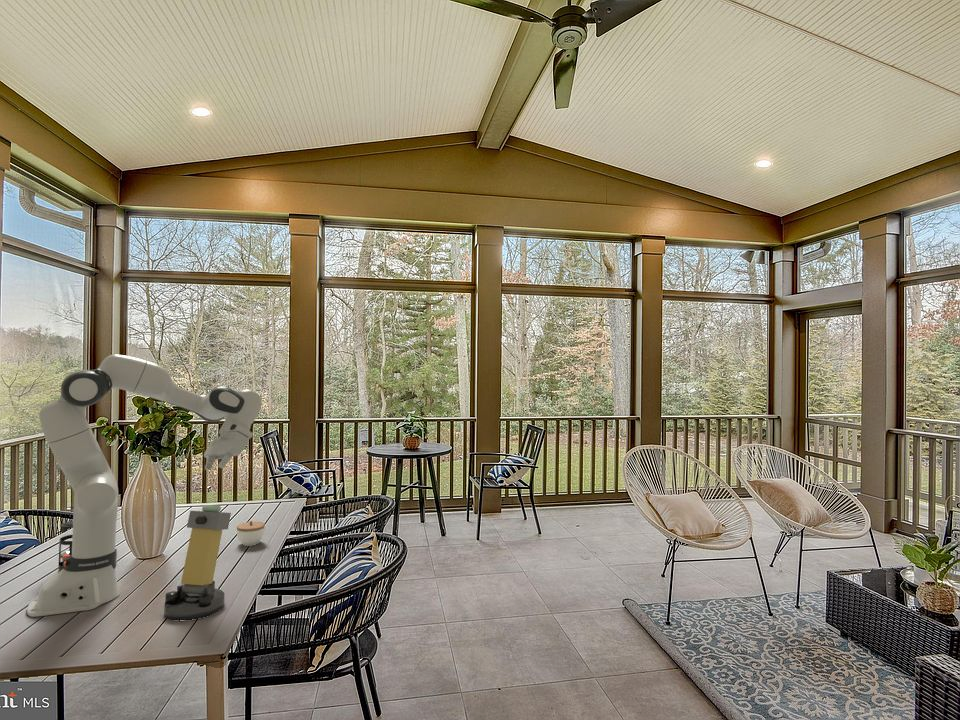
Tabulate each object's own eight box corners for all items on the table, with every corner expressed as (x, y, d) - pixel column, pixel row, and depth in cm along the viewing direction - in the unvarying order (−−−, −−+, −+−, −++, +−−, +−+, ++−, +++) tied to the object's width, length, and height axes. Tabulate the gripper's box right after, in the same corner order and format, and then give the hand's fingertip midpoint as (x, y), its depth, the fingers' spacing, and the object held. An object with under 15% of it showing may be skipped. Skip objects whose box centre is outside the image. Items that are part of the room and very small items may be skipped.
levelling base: (201, 623, 150) (202, 599, 150) (151, 618, 152) (152, 594, 152) (235, 599, 166) (235, 577, 166) (189, 595, 168) (190, 573, 168)
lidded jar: (230, 545, 216) (231, 522, 216) (252, 538, 226) (253, 516, 226) (248, 549, 211) (248, 526, 211) (269, 542, 221) (270, 520, 221)
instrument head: (198, 598, 153) (216, 506, 160) (168, 595, 155) (187, 503, 162) (215, 594, 161) (232, 506, 168) (186, 591, 162) (203, 504, 170)
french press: (87, 574, 182) (90, 508, 183) (53, 578, 178) (56, 510, 179) (94, 563, 193) (96, 500, 193) (62, 566, 189) (65, 502, 189)
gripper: (211, 432, 190) (191, 466, 182) (240, 424, 178) (220, 461, 170) (226, 440, 193) (207, 474, 185) (256, 433, 181) (237, 470, 174)
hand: (213, 468), depth 178 cm, fingers open, 8 cm apart
